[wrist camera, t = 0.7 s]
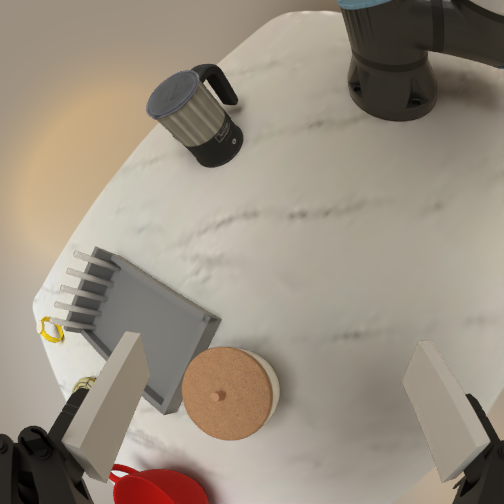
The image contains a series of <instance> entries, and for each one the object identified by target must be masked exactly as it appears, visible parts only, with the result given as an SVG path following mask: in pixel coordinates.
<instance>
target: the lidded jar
mask: <svg viewBox="0 0 504 504" xmlns="http://www.w3.org/2000/svg"><path fill="white" fill-rule="evenodd" d="M279 396H280V387H279V381H278V378H277V376H276V374H275V372H274V370H273V368H272V367H271V366H270V364H269V363H268V362H267V361H266V360H264V359H263V358H262V357H260V356H259V355H257V354H255V353H253V352H250V351H247V350H244V349H239V348H232V347H214V348H211V349H208V350H205V351H203V352H202V353H200V354H199V355H197V356H196V357H195V358H194V359H193V360H192V361H191V363H190V364H189V366H188V367H187V369H186V372H185V374H184V378H183V383H182V397H183V402H184V405H185V408H186V411H187V413H188V415H189V416H190V418H191V419H192V421H193V422H194V423H195V424H196V425H197V426H198V427H199V428H200V429H201V430H202V431H204V432H205V433H206V434H208V435H210V436H212V437H215V438H218V439H221V440H239V439H243V438H246V437H248V436H250V435H251V434H253V433H255V432H256V431H257V430H258V429H260V428H261V427H262V426H263V425H264V424H265V423H266V422H267V421H268V420H269V419H270V417H271V416H272V415H273V413H274V411H275V410H276V407H277V405H278V402H279Z"/></svg>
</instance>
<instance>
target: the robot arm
mask: <svg viewBox="0 0 504 504" xmlns="http://www.w3.org/2000/svg"><path fill="white" fill-rule="evenodd" d="M338 4H339V6H340V8H341V11H342V14H343V18H344V22H345V25H346V29H347V33H348V37H349V41H350V45H351V49H352V58H351V63H350V68H349V73H348V86H349V90H350V94H351V97H352V99H353V100H354V102H355V103H356V104H357V105H358V106H359V107H360V108H361V109H363V110H364V111H366V112H367V113H369V114H371V115H374V116H376V117H379V118H382V119H387V120H394V121H406V120H413V119H416V118H419V117H422V116H424V115H425V114H427V113H428V112H429V111H430V110H431V109H432V108H433V107H434V105H435V102H436V97H437V83H436V79H435V76H434V73H433V71H432V68H431V65H430V62H429V60H428V51H433V52H439V53H443V54H448V55H453V56H457V57H461V58H465V59H469V60H473V61H477V62H480V63H484V64H487V65H490V66H493V67H496V68H499V69H504V0H338ZM149 377H150V373H149V369H148V365H147V361H146V357H145V352H144V348H143V343H142V338H141V334H140V333H134V332H127V331H126V332H125V333H124V335H123V336H122V338H121V340H120V341H119V343H118V344H117V346H116V348H115V349H114V351H113V352H112V354H111V356H110V357H109V359H108V360H107V362H106V364H105V365H104V367H103V369H102V370H101V372H100V374H99V375H98V377H97V379H96V380H95V382H94V384H93V385H92V387H91V389H90V390H89V389H86V388H82V387H80V388H79V389H78V390H76V391H75V392H74V393H73V394H72V395H71V396H70V398H69V399H68V401H67V403H66V405H65V406H64V408H63V409H62V412H61V413H60V415H59V416H58V418H57V419H56V421H55V423H54V425H53V426H52V428H51V430H50V431H49V433H48V434H47V432H46V431H45V430H43V429H42V428H41V427H38V426H29V427H27V428H24V429H23V430H22V431H21V432H20V434H19V436H18V443H14V442H13V441H12V440H11V438H10V437H8V436H7V435H5V434H0V504H94V503H93V501H92V498H91V496H90V494H89V492H88V489H87V487H86V484H85V482H84V480H83V478H82V476H83V473H84V471H85V472H86V474H87V475H88V476H89V477H90V478H93V479H96V480H99V481H102V482H104V483H107V481H108V478H109V475H110V473H111V470H112V467H113V465H114V462H115V460H116V457H117V454H118V452H119V449H120V447H121V444H122V442H123V439H124V437H125V434H126V432H127V429H128V427H129V424H130V422H131V420H132V417H133V415H134V412H135V410H136V407H137V405H138V403H139V400H140V398H141V396H142V393H143V391H144V389H145V386H146V384H147V382H148V379H149ZM402 383H403V386H404V388H405V390H406V392H407V395H408V397H409V399H410V401H411V404H412V406H413V408H414V411H415V413H416V416H417V418H418V420H419V423H420V425H421V428H422V430H423V433H424V435H425V438H426V440H427V443H428V445H429V448H430V451H431V453H432V456H433V459H434V461H435V464H436V467H437V470H438V472H439V475H440V478H441V481H442V483H443V482H446V481H449V480H452V479H454V478H456V477H457V476H458V475H459V474H461V473H462V472H463V471H464V474H465V476H464V477H463V478H462V479H461V480H460V481H459V482H458V483H457V484H455V486H454V487H453V489H455V488H456V487H457V486H459V485H460V486H459V489H458V491H457V494H456V496H455V499H454V501H453V504H504V440H502V441H500V439H499V438H498V436H497V434H496V432H495V430H494V428H493V426H492V425H491V423H490V421H489V419H488V417H486V414H485V412H484V410H482V407H481V405H480V404H479V402H478V400H477V399H476V398H474V397H473V396H472V395H471V394H466V395H465V394H464V392H463V390H462V389H461V387H460V385H459V384H458V382H457V380H456V379H455V377H454V375H453V374H452V372H451V371H450V369H449V367H448V366H447V364H446V363H445V361H444V360H443V358H442V356H441V355H440V353H439V352H438V350H437V349H436V347H435V346H434V344H433V343H432V341H431V340H427V341H418V344H417V346H416V349H415V351H414V354H413V356H412V359H411V361H410V364H409V366H408V368H407V371H406V373H405V375H404V377H403V380H402Z"/></svg>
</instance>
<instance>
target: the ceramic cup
mask: <svg viewBox="0 0 504 504" xmlns="http://www.w3.org/2000/svg"><path fill="white" fill-rule="evenodd" d="M112 470H117V471H122V472H126V473H128V474H129V475H125V476H123V477H121V478H120V477H117V476H116V475H114V474H113V473H112V472H111V473H110V475H109V479H110V480H112V481H113V482H115V486H114V490H113V496H114V502H115V504H209V503H208V499H207V496H206V493H205V491H204V489H203V487H202V486H201V485H200V484H199V483H198V482H197V481H195V480H194V479H192V478H190V477H188V476H187V475H185V474H182V473H179V472H176V471H172V470H166V469H152V470H146V471H141V472H139V471H137V470H135V469H133V468H130V467H128V466H125V465H120V464H114V465H113V467H112ZM112 470H111V471H112Z"/></svg>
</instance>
